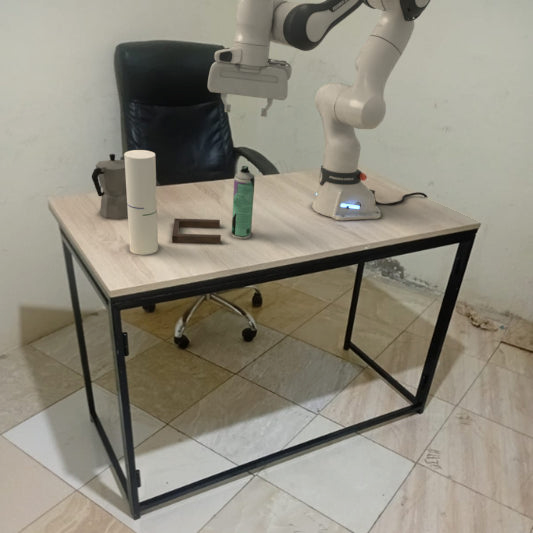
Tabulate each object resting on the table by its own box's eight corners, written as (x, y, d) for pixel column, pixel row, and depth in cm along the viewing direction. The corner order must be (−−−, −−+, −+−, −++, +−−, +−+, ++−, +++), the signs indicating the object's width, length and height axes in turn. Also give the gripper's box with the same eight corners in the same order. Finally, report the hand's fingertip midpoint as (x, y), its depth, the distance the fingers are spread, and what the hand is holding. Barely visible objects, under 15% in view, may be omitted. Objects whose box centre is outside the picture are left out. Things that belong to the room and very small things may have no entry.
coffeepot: (116, 203, 157) (113, 146, 148) (142, 209, 154) (140, 151, 145) (83, 220, 144) (77, 158, 135) (110, 227, 141) (106, 164, 133)
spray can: (251, 232, 146) (256, 164, 136) (249, 240, 141) (254, 170, 131) (233, 230, 146) (236, 162, 136) (230, 237, 141) (233, 168, 132)
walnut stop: (219, 225, 148) (219, 219, 147) (220, 243, 137) (220, 237, 136) (174, 224, 146) (174, 218, 145) (172, 242, 136) (172, 235, 135)
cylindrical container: (132, 242, 134) (126, 149, 122) (159, 243, 135) (156, 150, 123) (127, 254, 128) (122, 157, 116) (156, 255, 128) (153, 159, 117)
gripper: (292, 60, 127) (285, 116, 133) (211, 50, 126) (208, 107, 132) (293, 62, 121) (285, 121, 127) (208, 52, 120) (205, 111, 127)
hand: (245, 114), depth 130 cm, fingers open, 8 cm apart
